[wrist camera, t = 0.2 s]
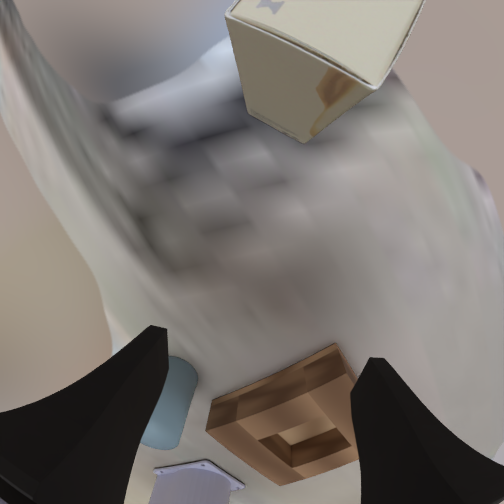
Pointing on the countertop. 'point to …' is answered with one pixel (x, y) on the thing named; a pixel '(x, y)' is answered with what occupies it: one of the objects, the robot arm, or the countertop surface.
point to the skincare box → (315, 56)
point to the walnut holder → (291, 419)
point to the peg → (171, 406)
